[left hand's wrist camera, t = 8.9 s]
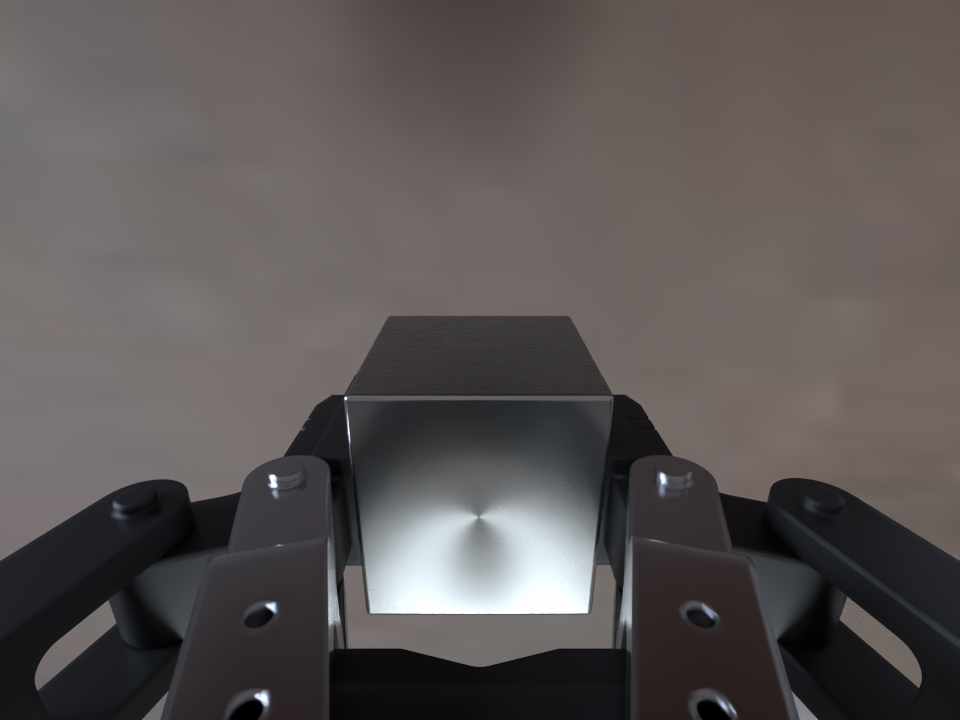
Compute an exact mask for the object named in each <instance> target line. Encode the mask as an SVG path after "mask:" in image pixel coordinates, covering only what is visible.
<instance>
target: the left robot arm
mask: <svg viewBox="0 0 960 720" xmlns="http://www.w3.org/2000/svg"><path fill="white" fill-rule="evenodd" d="M356 375H357V374H356ZM356 375H355V376H356ZM602 377H603V376H602ZM354 378H355V377H354ZM354 378H353V380H354ZM353 380H352V382H353ZM352 382H351V384H352ZM351 384H350V385H351ZM606 384H607V383H606ZM607 386H608V385H607ZM349 387H350V386H349ZM349 387H348V389H349ZM608 388H609V387H608ZM348 389H347V391H348ZM347 391H346V393H347ZM346 393H345V394H346ZM344 397H345V395H332V396H330V397H328V398H327V399H325V400H324V401H322V402H321V403H319V404H318V405H316V407H315V408H314V410H313V411H312V413H311V414H310V416H309V419H308V420H307V421H306V422H305V424H304V425H303V427H302V430H300V432H299V433H298V435H297V436H296V438H295V439H294V441H293V442H292V444H291V446H290V447H289V449H288V450H287V452H286V453H285V455H284V457H281V458H278V459H274V460H272V461H269V462H267V463H264V464H262V465H261V466H259V467H257V468H256V469H254V470H253V471H252V472H251V473H250V474H249V475H248V476H247V477H246V479H245V481H244V483H243V487H242V491H241V492H238V493H235V494H231V495H227V496H223V497H217V498H212V499H207V500H202V501H197V502H192V503H191V502H190V498H189V494H188V490H187V488H186V487H185V485H184V484H182V483H180V482H177V481H174V480H164V479H160V480H150V481H144V482H140V483H136V484H132V485H129V486H126V487H124V488H121V489H119V490H117V491H114V492H112V493H110V494H109V495H107V496H105V497H103V498H102V499H100V500H99V501H97V502H95V503H94V504H92V505H90V506H89V507H87V508H86V509H84V510H82V511H81V512H79V513H77V514H76V515H74V516H73V517H71V518H69V519H68V520H66V521H64V522H63V523H61V524H60V525H58V526H56V527H55V528H53V529H51V530H50V531H48V532H47V533H45V534H43V535H42V536H40V537H38V538H37V539H35V540H34V541H32V542H30V543H29V544H27V545H25V546H24V547H22V548H21V549H19V550H17V551H16V552H14V553H13V554H11V555H9V556H8V557H6V558H4V559H3V560H1V561H0V720H142V719H143V718H144V717H145V715H146V714H147V713H148V712H149V711H150V710H151V709H152V708H153V707H154V706H155V705H156V704H157V702H158V701H159V700H160V699H161V698H162V697H163V696H164V695H165V694H166V693H167V692H168V695H167V698H166V702H165V705H164V709H163V712H162V716H161V719H160V720H800V719H799V716H798V712H797V709H796V705H795V702H794V698H793V695H792V692H793V693H794V694H795V695H796V696H797V697H798V698H799V699H800V700H801V701H802V702H803V704H804V705H805V706H806V707H807V708H808V709H809V710H810V711H811V712H812V713H813V714H814V716H815V717H816V718H817V719H818V720H960V561H959V560H957V559H956V558H954V557H952V556H951V555H949V554H947V553H946V552H944V551H943V550H941V549H939V548H938V547H936V546H934V545H933V544H931V543H930V542H928V541H926V540H925V539H923V538H922V537H920V536H918V535H917V534H915V533H913V532H912V531H910V530H909V529H907V528H905V527H904V526H902V525H900V524H899V523H897V522H896V521H894V520H892V519H891V518H889V517H887V516H886V515H884V514H883V513H881V512H879V511H878V510H876V509H874V508H873V507H871V506H870V505H868V504H866V503H865V502H863V501H861V500H860V499H858V498H857V497H855V496H853V495H852V494H850V493H848V492H846V491H844V490H842V489H840V488H838V487H835V486H832V485H830V484H826V483H823V482H820V481H815V480H810V479H802V478H789V479H783V480H780V481H777V482H776V483H774V484H773V485H772V486H771V489H770V493H769V497H768V501H767V502H762V501H757V500H752V499H747V498H742V497H736V496H731V495H727V494H723V493H720V492H719V491H718V487H717V483H716V481H715V479H714V477H713V476H712V475H711V474H710V473H709V472H708V471H707V470H706V469H704V468H703V467H701V466H699V465H698V464H696V463H693V462H691V461H688V460H686V459H682V458H679V457H674V456H672V454H671V452H670V451H669V449H668V448H667V446H666V444H665V443H664V441H663V440H662V438H661V437H660V435H659V433H658V432H657V430H655V427H654V425H653V424H652V422H651V421H650V420H648V416H647V414H646V413H645V411H644V410H643V408H642V406H641V405H640V404H638V403H637V402H635V401H634V400H632V399H631V398H629V397H628V396H626V395H613V398H614V404H613V414H612V423H611V433H610V442H609V451H608V461H607V470H606V480H605V489H604V498H603V508H602V517H601V527H600V536H599V545H598V555H597V564H596V565H611V568H612V571H613V575H614V578H615V580H616V584H615V592H614V610H613V630H612V649H556V650H552V651H548V652H544V653H540V654H535V655H531V656H527V657H523V658H519V659H515V660H511V661H507V662H503V663H499V664H495V665H491V666H486V667H474V666H469V665H465V664H461V663H457V662H453V661H449V660H445V659H441V658H437V657H433V656H429V655H425V654H420V653H416V652H412V651H408V650H404V649H348V631H347V610H346V592H345V584H344V577H343V573H344V570H345V566H346V565H362V564H361V555H360V545H359V536H358V527H357V517H356V508H355V499H354V490H353V480H352V471H351V462H350V453H349V444H348V435H347V426H346V416H345V407H344ZM847 596H848V597H849V598H850V599H851V600H853V601H854V602H855V603H856V604H858V605H859V606H860V607H861V608H863V609H864V610H865V611H866V612H868V613H869V614H870V615H871V616H873V617H874V618H875V619H876V620H878V621H879V622H880V623H881V624H883V625H884V626H885V627H886V628H887V629H889V630H890V631H891V632H892V633H894V634H895V635H896V636H897V637H899V638H900V639H901V640H902V641H903V642H904V643H905V644H906V645H907V646H908V647H909V648H910V650H911V651H912V652H913V654H914V655H915V657H916V659H917V661H918V663H919V665H920V668H921V673H922V682H921V685H920V687H919V688H918V687H917V686H916V685H915V684H913V683H912V682H911V681H910V680H909V679H908V678H906V677H905V676H904V675H903V674H902V673H901V672H899V671H898V670H897V669H896V668H895V667H894V666H892V665H891V664H890V663H889V662H888V661H887V660H885V659H884V658H883V657H882V656H881V655H880V654H878V653H877V652H876V651H875V650H874V649H873V648H872V647H870V646H869V645H868V644H867V643H866V642H865V641H863V640H862V639H861V638H860V637H859V636H858V635H856V634H855V633H854V632H853V631H852V630H851V629H849V628H848V627H847V626H846V625H845V624H844V623H842V622H841V621H840V620H839V619H840V616H841V613H842V610H843V607H844V604H845V602H846V599H847ZM107 600H109V603H110V606H111V608H112V611H113V614H114V617H115V620H116V624H115V625H114V626H113V627H112V628H111V629H109V630H108V631H107V632H106V633H105V634H104V635H102V636H101V637H100V638H99V639H98V640H97V641H95V642H94V643H93V644H92V645H91V646H90V647H88V648H87V649H86V650H85V651H84V652H83V653H81V654H80V655H79V656H78V657H77V658H76V659H75V660H73V661H72V662H71V663H70V664H69V665H68V666H66V667H65V668H64V669H63V670H62V671H61V672H59V673H58V674H57V675H56V676H55V677H54V678H52V679H51V680H50V681H49V682H48V683H47V684H45V685H44V686H43V687H42V688H41V689H40V690H38V691H37V689H36V686H35V673H36V670H37V667H38V665H39V663H40V661H41V659H42V658H43V656H44V655H45V653H46V652H47V651H48V649H49V648H50V647H51V646H52V645H53V644H54V643H55V642H57V641H58V640H59V639H60V638H61V637H63V636H64V635H65V634H66V633H68V632H69V631H70V630H71V629H72V628H74V627H75V626H76V625H77V624H79V623H80V622H81V621H82V620H84V619H85V618H86V617H87V616H89V615H90V614H91V613H92V612H94V611H95V610H96V609H97V608H99V607H100V606H101V605H102V604H104V603H105V602H106V601H107ZM791 691H792V692H791Z"/></svg>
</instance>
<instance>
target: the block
mask: <svg viewBox="0 0 960 720" xmlns="http://www.w3.org/2000/svg"><path fill="white" fill-rule="evenodd" d="M613 404H614V398H613V395H612V393H611V391H610V389H609V388H608V386H607V384H606V382H605V380H604V378H603V377H602V375H601V373H600V371H599V369H598V367H597V366H596V364H595V362H594V360H593V358H592V356H591V355H590V353H589V351H588V349H587V347H586V345H585V344H584V342H583V340H582V338H581V336H580V335H579V333H578V331H577V329H576V327H575V325H574V324H573V322H572V320H571V318H570V317H568V316H390V317H388V318H387V320H386V322H385V324H384V326H383V327H382V329H381V331H380V333H379V335H378V336H377V338H376V340H375V342H374V344H373V346H372V347H371V349H370V351H369V353H368V355H367V356H366V358H365V360H364V362H363V364H362V365H361V367H360V369H359V371H358V373H357V375H356V376H355V378H354V380H353V382H352V384H351V385H350V387H349V389H348V391H347V393H346V394H345V397H344V407H345V416H346V426H347V435H348V444H349V453H350V462H351V471H352V480H353V490H354V499H355V508H356V517H357V527H358V536H359V545H360V555H361V564H362V574H363V583H364V592H365V601H366V610H367V612H368V614H371V615H438V614H589V613H590V612H591V610H592V602H593V592H594V583H595V574H596V564H597V555H598V545H599V536H600V527H601V517H602V508H603V498H604V489H605V480H606V470H607V461H608V451H609V442H610V433H611V423H612V414H613Z"/></svg>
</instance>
